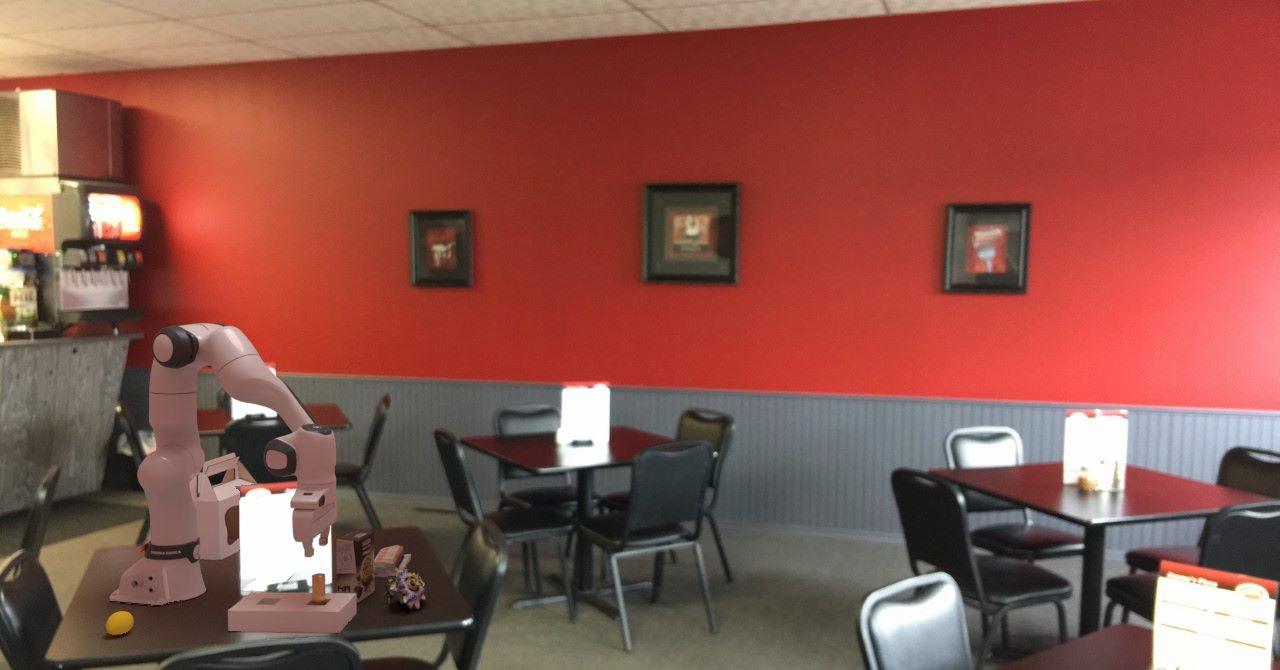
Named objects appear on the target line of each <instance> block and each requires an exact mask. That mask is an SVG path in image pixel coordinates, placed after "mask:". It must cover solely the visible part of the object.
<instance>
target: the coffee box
mask: <svg viewBox="0 0 1280 670" xmlns="http://www.w3.org/2000/svg"><path fill="white" fill-rule="evenodd" d="M335 544H336V545H335V546H336V549H335V550H336V558H335V559H336V572H335V573H336V593H356V603H360V602H361V601H363V600H365V598H368V597H369V596H370V595H371V594H373V593H375V592H374V591H375V586H376V585H375V582H376V581H375V580H376V579H375V578H376V577H374V559H375V532H374V531H369V530H363V531H362V530H357V531H356V530H351V531H350V532H347V533H345V534H344V535H342V536H340V537H338V538H336V543H335Z"/></svg>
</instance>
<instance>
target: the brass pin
mask: <svg viewBox="0 0 1280 670" xmlns="http://www.w3.org/2000/svg"><path fill="white" fill-rule="evenodd" d="M311 589H312V590H311V593H312V605H326V593H327V592H326V573H323V572H321V573H314V574H312V575H311Z"/></svg>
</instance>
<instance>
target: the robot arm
mask: <svg viewBox="0 0 1280 670" xmlns="http://www.w3.org/2000/svg"><path fill="white" fill-rule="evenodd" d="M151 343H152V344H151V351H152V356H153V360H152V365H151V369H150V377H149V385H148V386H149V387H148V389H149V392H148V395H149V396H148V397H149V398H148V399H149V400H148V406H149V407H148V421H149V425H150V427H151V428H152V431H153V435H154V440H155V444H156V445H155V450H154V451H152V452H150V453H149V454H148V455H146V457H145V458H144V459H143V460H142V461H141V463H140V465H139V466H138V470H137V473H136V474H137V480H138V483H139V485H140V486H141V488H143V491H144V494H145V498H146V503H147V507H148V511H149V527H150V528H149V530H150V532H149V533H150V540H149V541H148V542H147V543H145V544H144V545H143V546H141V547H140V552H143V551H144V554H143V557H141V558H140V559H138V560H137V561H136V562H135V563H133V564H132V565H131V566H130V567H129V568H127V569H126V570H125V571H124V572H123V573H122V575H121V577H120V581H119V586H118V588H117V589H115V590H114V591H113V592H112V593H110V595H109V599H110V600H111V601H123V602H132V603H142V604H151V605H150V606H153V605H161V606H164V605H163V604H165V605H167V604H166V603H168V604H170V603H169V602H172V603H175V602H174V601H177V602H181V601H182V600H183V601H186V600H187V601H188V600H191V599H194V598H196V597H200V596H201V595H203V594H204V593H206V591H207V587H206V586H205V582H204V579H203V575H202V569H201V562H200V561H201V559H200V538H199V537H198V522H197V507H196V505H195V504H194V502H193V499H192V495H191V491H190V481H191V480H192V479H193V478H194V477H196V476H197V475H198V474H199V473H200V472H201V469H202V467H203V464H204V462H205V461H206V456H205V451H204V450H203V449H202V444H201V437H200V432H199V427H198V415H197V414H198V413H197V412H198V403H197V402H198V398H197V397H198V383H197V382H198V381H197V379H198V373H199V371H200V370H201V369H202V368H204V367H208V369H210V368H212V370H213V373H214V374H215V377H216V378H217V380H218V382H219V384H220V385H221V388H222V389H223V390H224V391H225V393H226V394H227V395H228V396H229V397H231V398H232V399H233V400H236V401H238V402H241V403H245V404H252V405H256V406H261V407H265V408H267V409H270V410H272V411H274V412H275V413H277V414H278V415H279V417H280V418H281V419H282V421H284V423H285V424H286V426H287V427H288V428H289V429H290V431H291V433H289V434H286V435H282V436H279V437H276V438H273V439H271V440H270V441H268V443H267V444H266V445H265V448H264V451H263V463H264V466H265V468H266V470H267V471H268V472H269V473H270V474H272V475H273V476H275V477H281V478H282V477H283V478H286V477H290V476H295V477H296V479H297V481H296V489H295V492H294V494H293V495H292V497H291V499H290V503H289V504H290V505H289V507H290V509H293V511H292V514H291V516H292V517H291V519H292V520H291V522H292V524H291V525H292V536H293V540H294V541H295V542H296V543H301V545H302V547H303V550H304V557H305V558H312V557H313V556H314V555H315V548H314V547H313V543H314V539H315V538H316V537H317V536H319V538H318V545H319V546H320V547H325V546H326V545H328V544H329V536H330V532H331V526H332V525H333V524H335V523H336V522H337V521H338V515H339V514H338V512H339V511H338V498H337V497H338V496H337V477H336V473H335V470H336V469H335V468H336V465H337V443H336V436H335V433H334V431H333V429H332V428H331V427H329V426H327V425H324V424H319V423H318V422H317V421H316V419H315V418H314V417H313V416H312V414H311V413H310V412H309V409H307V408H306V406H305V405H304V404H303V403H302V401H301V400H300V398H299V397H298V396H297V395H296V393H295V392H294V390H292V388H291V387H290V386H289V385H288V384H287V383H286V382H284V381H283V380H282V379H280V378H279V377H278V376H276V375H275V374H274V373H273V371H272V370H271V369H270V368H269V367H268V365H266V363H265V362H264V361H263V359H262V358H261V356H260V354H259V352H258V350H257V349H256V348H255V346H254V345H253V343H252V342H251V341H250V339H249V338H248V337H247V336H246V335H245V334H244V332H243V331H242V330H241V329H239V328H238V327H236V326H233V325H228V324H224V323H218V322H217V323H205V322H200V323H199V322H198V323H197V322H194V323H190V324H184V325H183V324H182V325H171V326H167V327H163V328H161V329H160V330H158V331H157V332H156V333H155V334H154V336H153V337H152V342H151ZM110 600H109V601H110ZM180 600H181V601H180ZM142 604H141V605H142Z"/></svg>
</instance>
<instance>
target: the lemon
mask: <svg viewBox="0 0 1280 670" xmlns="http://www.w3.org/2000/svg"><path fill="white" fill-rule="evenodd" d="M134 622H135V620H134V616H133V615H132V613H130V612H128V611H124V610H119V611H116V612H113V613H112V614H111V615H110V616H109V617H108V618H107V620H106V622H105V629H106V631H107V633H108V634H110V635H111V634H112V635H111V636H113V635H116V634H123V633H125V634H127V633H128V631H129V632H130V631H131V629H132V628H133V627H134ZM126 632H127V633H126Z"/></svg>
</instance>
